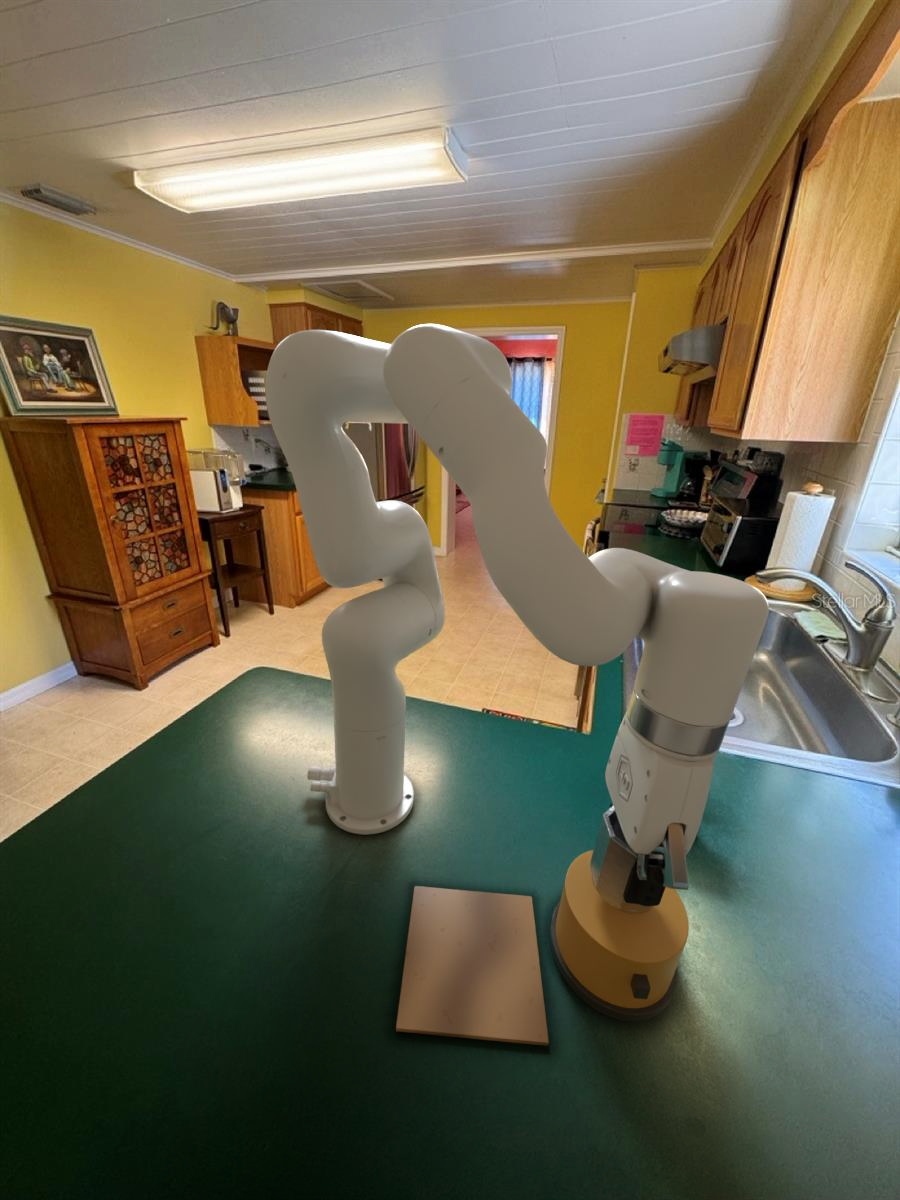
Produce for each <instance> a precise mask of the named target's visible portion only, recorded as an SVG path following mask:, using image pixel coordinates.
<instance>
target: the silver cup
mask: <svg viewBox="0 0 900 1200" xmlns="http://www.w3.org/2000/svg"><path fill="white" fill-rule="evenodd" d="M593 850H594V851H593V855H592V858H591V862H590V867H591V878H592V882H593V885H594V887H595V889H596V891H597V892H598V893H599V895H600V896H601V897H602V898H603V899H604V900H605V901H606V902H607V903H608V904H609V905H611V906H612V907H614V908H616V909H617V910H619V911H622V912H625V913H628V914H643V913H646V912H649V911H650V910H651V909H652V908H653V907H654V906H642V905H640V904H631V903H626V902H625V900H624V897H623V893H624V890H625V887H626V884H627V881H628V878H629V874H630V871H631V868H632V867H637V859H638V853H635V852H634V851H633V850H632V849H631V847H630V846H629V845H628V843H627V841H626V839H625V836H624V834H623V831H622V828H621V826H620V823H619V820H618V817H617V814H616V811H615V809H614V806H612V807H611V808H610V809H609V808H608V809H607V810H606V811H605V812H604V813H603V814H602V818H601V821H600V825H599V829H598V832H597V836H596V840H595V844H594V848H593ZM662 860H663V853H654V852H651V853H650V855H649V864H651V865H661V866H662Z"/></svg>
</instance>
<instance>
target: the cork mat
mask: <svg viewBox="0 0 900 1200" xmlns="http://www.w3.org/2000/svg"><path fill="white" fill-rule="evenodd" d="M410 909H411V910H410V917H409V923H408V924H409V925H408V932H407V939H406V947H405V954H404V955H405V956H404V964H403V969H402V970H403V971H402V979H401V985H400V994H399V1003H398V1010H397V1016H396V1023H395V1024H396V1025H395V1031H396V1032H401V1033H410V1034H411V1033H413V1034H422V1035H432V1036H442V1037H452V1038H453V1037H454V1038H462V1039H471V1040H472V1039H473V1040H483V1041H493V1042H504V1043H513V1044H525V1045H534V1046H545V1047H548V1046H549V1043H550V1041H549V1032H548V1022H547V1015H546V1007H545V1006H546V1005H545V997H544V988H543V980H542V971H541V964H540V963H541V961H540V955H539V945H538V940H537V939H538V936H537V929H536V921H535V912H534V903H533V897H532V896H531V895H519V894H509V893H498V892H487V891H486V892H485V891H476V890H475V891H474V890H466V889H465V890H464V889H454V888H443V887H431V886H422V885H421V886H419V885H414V886H413V893H412V902H411V908H410Z"/></svg>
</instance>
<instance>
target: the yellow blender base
mask: <svg viewBox="0 0 900 1200" xmlns="http://www.w3.org/2000/svg"><path fill="white" fill-rule="evenodd" d="M593 851H594V849H591V850H588V851H585V852H583V853H581V854H580V855H578V856H577V857H576V858H575V859H574V860H573V861H572V862H571V863H570V864H569V867H568V868H567V872H566V875H565V877H564V878H565V879H564V884H563V888H562V892H561V897H560V900H559V901H558V903H557V905H556V906H555V908H554V911H553V913H552V918H551V922H550V927H549V944H550V949H551V953H552V956H553V960H554V962H555V964H556V967H557V969H558V971H559V973H560V975H561V977H562V978H563V980H564V981H565V982H566V984H567V985H568V986H569V988H570V989H571V990H572V991H573V993H575V994H576V996H578V998H580V1000H582V1002H584V1003H585V1004H587V1005H588V1006H590V1008H592V1009H594V1010H595V1011H597V1012H598V1013H600V1014H602V1015H605V1016H607V1017H609V1018H612V1019H614V1020H619V1021H622V1022H630V1023H631V1022H636V1023H638V1022H643V1021H648V1020H651V1019H653V1018H655V1017H657V1016H658V1015H660V1014H661V1013H662V1012H664V1011H665V1009H666V1008H667V1007H668V1005H669V1004H670V1002H671V1000H672V998H673V995H674V993H675V990H676V988H677V987H676V986H677V983H678V972H679V971H678V965H679V962H680V959H681V958H682V957H681V956H682V955H683V951H684V949H685V946H686V944H687V941H688V937H689V929H690V927H689V926H690V925H689V918H688V913H687V910H686V907H685V904H684V902H683V899H682V898H681V896H680V894H679V893H678V892H677V889H671V888H668V887H666V888H665V891H664V893H663V896H662V899H661V902H660V904H659V905H657V906H654V907H653V908H652V909H651V910H650V911H649V912H646V913H643V914H628V913H625V912H622V911H619V910H617V909H616V908H614V907H612V906H611V905H609V904H608V903H607V902H606V901H605V900H604V899H603V898H602V897H601V896H600V895H599V893H598V892H597V891H596V889H595V887H594V885H593V882H592V878H591V867H590V862H591V858H592V855H593Z"/></svg>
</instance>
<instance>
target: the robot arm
mask: <svg viewBox="0 0 900 1200" xmlns="http://www.w3.org/2000/svg"><path fill="white" fill-rule="evenodd" d="M512 376H513V375H512V370H511V368H510V365H509V363H508V361H507V358H506V356H505V355H504V353H503V352H502V351H501V350H500V348H498V346H497V345H495V344H494V343H493V342H491V341H490V340H488V339H486V338H483V337H480V336H478V335H475V334H472V333H469V332H465V331H462V330H459V329H456V328H453V327H450V326H448V325H447V326H446V325H443V324H438V323H424V324H423V323H421V324H418V325H415V326H411V327H410V328H408V329H405V330H404V331H403V332H401V333H400V334H399V335H398V336H396V338H395V339H393V341H392V342H391V343H387V342H384V341H383V342H382V341H379V340H375V339H370V338H365V337H361V336H357V335H354V334H349V333H345V332H341V331H335V330H327V329H308V330H300V331H297V332H294V333H291V334H290V335H288V336H286V337H285V338H283V339H282V340H280V342H279V343H278V344H277V346H276V347H275V349H274V350H273V352H272V354H271V356H270V359H269V363H268V365H267V370H266V375H265V402H266V408H267V413H268V418H269V422H270V425H271V427H272V430H273V432H274V435H275V438H276V440H277V442H278V445H279V447H280V449H281V452H282V453H283V455H284V458H285V459H286V462H287V465H288V468H289V470H290V473H291V475H292V478H293V482H294V485H295V490H296V494H297V498H298V499H297V500H298V502H299V506H300V511H301V515H302V519H303V522H304V525H305V529H306V532H307V536H308V541H309V544H310V548H311V552H312V557H313V558H314V562H315V565H316V569H317V571H318V573H319V575H320V576H321V578H322V579H323V581H324V582H325V583H327V584H328V585H329V586H331V587H333V588H336V589H352V588H356V587H360V586H363V585H367V584H370V583H373V582H375V581H378V580H380V579H381V580H382V583H383V587H381V588H379V589H375V590H372V591H370V592H368V593H365V594H362V595H359V596H357V597H354V598H352V599H350V600H348V601H346V602H343V603H342V604H341V605H338V606H337V607H336V608H335V609H334V610H332V611H331V612H330V613H329V615H328V616H327V617H326V619H325V621H324V622H323V625H322V628H321V645H322V649H323V653H324V656H325V660H326V664H327V668H328V671H329V676H330V685H331V694H332V696H331V697H332V714H333V731H334V732H333V733H334V737H333V738H334V761H335V763H334V765H331V766H330V767H323V766H318V765H317V766H316V765H310V766H309V767H308V769H307V775H306V776H307V780H308V781H311V784H310V792H318V793H321V792H324V793H325V810H326V814H327V815H328V817H329V819H330V820H331V821H332V822H333V824H334V825H336V826H337V827H338V828H339V829H341V830H343V831H345V832H347V833H351V834H356V835H375V834H380V833H384V832H387V831H389V830H391V829H393V828H395V827H397V826H398V825H399V824H401V823H402V822H403V821H404V820H405V819H406V818H407V817H408V815H409V814H410V813H411V811H412V808H413V806H414V800H415V791H414V786H413V783H412V781H411V779H409V777H408V776H407V774H405V749H406V748H405V747H406V746H405V745H406V714H407V713H406V711H407V704H406V703H407V696H406V690H405V686H404V684H403V683H402V681H401V680H400V678H399V676H398V675H397V672H396V668H397V666H398V664H399V663H400V662H401V661H403V660H405V659H406V658H407V657H409V656H410V655H412V654H414V653H415V652H417V651H419V650H420V649H422V648H423V647H426V646H427V645H428V644H430V643H432V642H433V641H434V640H436V638H437V637H438V636H439V635H440V633H441V632H442V630H443V629H444V625H445V619H446V608H445V607H446V606H445V600H444V596H443V595H444V594H443V589H442V585H441V580H440V576H439V570H438V565H437V560H436V556H435V551H434V546H433V541H432V536H431V533H430V531H429V528H428V526H427V523H426V522H425V520H424V519H423V517H422V516H421V515H420V513H419V512H418V510H416V509H415V508H414V507H413V506H412V505H410V504H408V503H406V502H404V501H400V500H393V499H390V500H389V499H388V500H387V499H386V500H380V501H377V500H376V498H375V495H374V491H373V487H372V484H371V478H370V472H369V468H368V466H367V464H366V462H365V461H366V460H365V459H364V457H363V455H362V453H361V452H360V450H359V449H358V447H357V445H356V444H355V442H354V441H353V440H352V439H351V438H350V437H349V436H348V434H347V433H346V432H345V431H344V429H343V425H344V424H345V423H346V422H347V423H368V424H369V423H370V424H371V423H372V424H406V425H407V424H409V425H410V426H411V427H412V428H413V430H414V431H415V433H416V434H417V435H418V436H419V438H420V439H421V440H422V442H423V443H424V444H425V446H426V447H427V448H428V449H429V450H430V452H431V453H432V454H433V455H434V457H435V458H436V459H437V461H438V462H439V463H440V464H441V466H442V468H444V470H445V471H446V472H447V474H448V475H449V476H450V477H451V479H452V480H453V481H454V483H455V484H456V485H457V487H458V488H459V489H460V490H461V492H462V493H463V495H464V496H465V497H466V499H467V501H469V504H470V508H471V516H472V524H473V529H474V533H475V536H476V541H477V544H478V548H479V551H480V555H481V558H482V560H483V563H484V566H485V568H486V571H487V572H488V575H489V577H490V579H491V580H492V582H493V584H494V585H495V587H496V589H497V590H498V592H499V594H501V596H502V597H503V599H504V600H505V602H506V603H507V604H508V606H509V607H510V608H511V609H512V611H513V612H514V613H515V615H517V617H518V619H519V620H520V621H521V623H522V624H523V625H524V626H525V627H526V629H527V630H528V631H529V632H530V633H531V635H533V637H534V638H535V639H536V640H537V641H538V642H539V643H540V644H541V645H542V646H543V647H544V648H545V649H546V650H547V651H549V652H550V653H551V654H552V655H554V656H555V657H556V658H559V659H560V660H562V661H565V662H567V663H569V664H572V665H575V666H580V667H595V666H602V665H605V664H608V663H609V662H612V661H614V660H616V659H617V658H618V657H620V656H621V655H622V654H623V653H625V651H626V650H627V649H628V647H630V645H631V644H633V641H634V640H635V639H636V638H640V639H641V640H642V641H643V650H642V654H641V658H640V661H639V665H638V669H637V672H636V676H635V679H634V680H635V681H634V684H633V688H632V691H631V694H630V699H629V701H628V702H629V703H628V705H627V710H626V712H625V714H624V715H623V718H622V721H621V723H620V725H619V728H618V731H617V733H616V736H615V739H614V742H613V744H612V748H611V750H610V755H609V757H608V761H607V765H606V768H605V772H604V774H605V775H604V777H605V783H606V788H607V790H608V794H609V797H610V799H611V803H610V804H609V808H608V810H609V809H610V808H611V807H612V806H614V809H615V811H616V814H617V817H618V820H619V823H620V826H621V828H622V831H623V834H624V836H625V839H626V841H627V843H628V845H629V846H630V847H631V849H632V850H633V851H634V852H635V853H638V859H637V867H632V868H631V871H630V874H629V878H628V881H627V884H626V887H625V890H624V893H623V897H624V900H625V902H626V903H631V904H640V905H642V906H657V905H659V904H660V902H661V899H662V896H663V893H664V891H665V888H666V887H668V888H671V889H675V890H681V891H688V890H689V888H690V885H689V873H688V865H687V855H688V854H689V852H690V850H691V849H692V846H693V844H694V842H695V840H696V837H697V836H698V832H699V829H700V826H701V823H702V820H703V816H704V812H705V809H706V805H707V802H708V796H709V793H710V788H711V782H712V778H713V772H714V771H713V770H714V765H715V760H714V757H716V756H717V755H718V753H719V751H720V749H721V746H722V743H723V741H724V738H725V737H726V736H725V735H726V733H727V730H728V728H729V724H730V722H731V719H732V717H733V714H734V711H735V708H736V705H737V703H738V700H739V697H740V694H741V692H742V689H743V686H744V683H745V680H746V679H747V675H748V673H749V670H750V668H751V665H752V661H753V659H754V656H755V653H756V651H757V649H758V645H759V643H760V640H761V637H762V635H763V632H764V629H765V627H766V623H767V621H768V617H769V614H770V613H769V611H770V606H769V602H768V600H767V597H766V595H765V594H764V593H763V592H762V591H761V590H760V589H758V588H757V587H755V586H753V585H751V584H749V583H747V582H745V581H743V580H741V579H737V578H735V577H732V576H729V575H723V574H719V573H714V572H708V571H697V570H696V571H695V570H693V571H691V570H688V569H685V568H681V567H679V566H677V565H673V564H672V563H671V564H670V563H668V562H666V561H663V560H660V559H658V558H655V557H654V556H650V555H647V554H645V553H642V552H639V551H636V550H633V549H628V548H624V547H610V548H605V549H602V550H599V551H597V552H595V553H594V554H592V555H590V556H589V557H588V556H587V554H586V553H585V552H584V551H583V550H582V548H581V547H580V546H579V545H578V544H577V542H576V541H575V540H574V538H573V537H572V535H571V534H570V532H569V531H568V530H567V529H566V527H565V526H564V524H563V523H562V521H561V520H560V518H559V516H558V515H557V513H556V511H555V509H554V507H553V505H552V503H551V500H550V498H549V494H548V492H547V488H546V484H545V466H546V461H547V455H548V446H547V441H546V439H545V437H544V434H543V433H541V431H540V430H539V429H538V428H537V427H536V425H535V424H534V423H533V422H532V421H531V420H530V418H529V417H528V416H527V414H526V413H525V411H523V410H522V409H521V408H520V406H519V405H518V404H517V403H516V402H515V400H514V399H513V398H512V396H511V394H512V389H513V377H512ZM323 781H328V782H323ZM651 852H654V853H663V860H662V866H661V865H651V864H649V855H650V853H651Z"/></svg>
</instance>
